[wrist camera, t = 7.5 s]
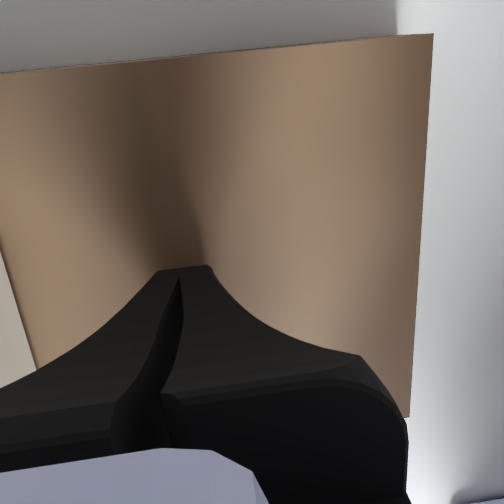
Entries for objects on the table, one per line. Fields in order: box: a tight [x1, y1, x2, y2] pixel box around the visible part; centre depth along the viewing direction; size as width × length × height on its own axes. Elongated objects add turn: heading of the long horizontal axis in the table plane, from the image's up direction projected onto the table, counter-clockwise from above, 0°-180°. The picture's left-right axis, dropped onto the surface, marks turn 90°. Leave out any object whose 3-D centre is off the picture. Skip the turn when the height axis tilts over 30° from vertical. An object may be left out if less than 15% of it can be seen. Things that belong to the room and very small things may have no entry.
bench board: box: [0, 33, 434, 418], centre depth 13 cm, size 12×11×2 cm
